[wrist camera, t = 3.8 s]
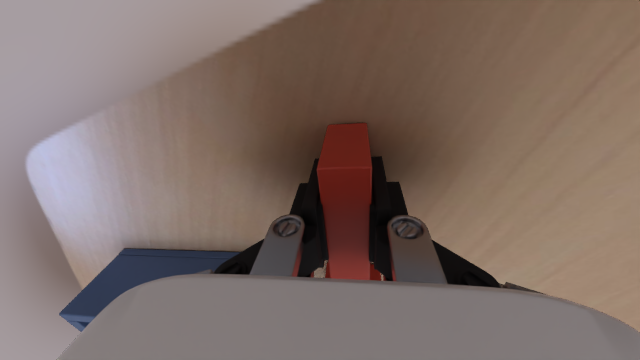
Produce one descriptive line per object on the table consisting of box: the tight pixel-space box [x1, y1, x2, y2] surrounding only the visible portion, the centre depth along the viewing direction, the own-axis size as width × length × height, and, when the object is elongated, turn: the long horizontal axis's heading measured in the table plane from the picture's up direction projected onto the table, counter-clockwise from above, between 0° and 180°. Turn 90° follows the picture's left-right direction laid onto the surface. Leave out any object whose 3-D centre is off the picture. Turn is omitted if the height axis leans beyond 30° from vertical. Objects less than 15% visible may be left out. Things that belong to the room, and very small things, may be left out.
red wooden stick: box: [317, 123, 381, 281], centre depth 13 cm, size 15×4×4 cm, turn 6°
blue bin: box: [59, 249, 241, 332], centre depth 21 cm, size 20×14×5 cm
